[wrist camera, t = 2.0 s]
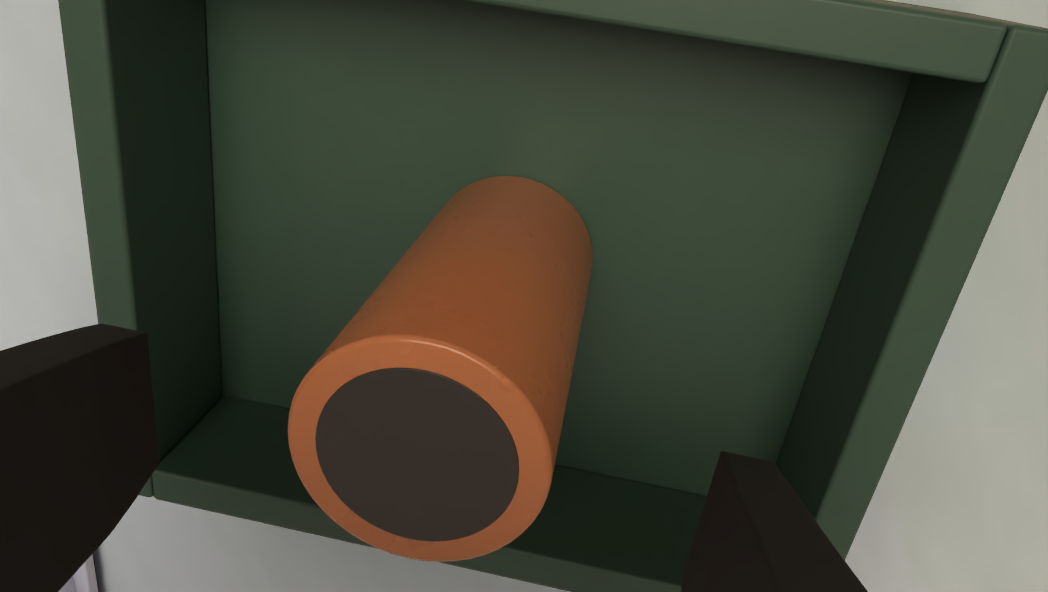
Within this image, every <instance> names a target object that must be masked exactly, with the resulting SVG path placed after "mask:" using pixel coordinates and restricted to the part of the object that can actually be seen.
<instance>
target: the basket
mask: <svg viewBox="0 0 1048 592" xmlns="http://www.w3.org/2000/svg"><path fill="white" fill-rule="evenodd" d="M58 1H59V9H60V17H61V25H62V33H63V41H64V49H65V57H66V66H67V74H68V82H69V90H70V98H71V106H72V114H73V122H74V130H75V138H76V146H77V154H78V162H79V170H80V178H81V186H82V195H83V203H84V211H85V219H86V227H87V235H88V243H89V251H90V259H91V267H92V275H93V283H94V291H95V299H96V307H97V316H98V324H107V325H112V326H117V327H122V328H127V329H131V330H136V331H141V332H146V333H147V337H148V348H149V358H150V369H151V380H152V390H153V401H154V412H155V422H156V433H157V444H158V454H159V464H158V466H157V467H156V469H155V470H154V472H153V473H152V475H151V476H150V478H149V479H148V481H147V482H146V484H145V485H144V487H143V488H142V490H141V491H140V493H139V494H138V495H142V496H146V497H152V496H154V497H155V498H156V499H158V500H163V501H167V502H172V503H176V504H181V505H185V506H190V507H194V508H199V509H203V510H208V511H212V512H217V513H221V514H226V515H230V516H235V517H239V518H244V519H248V520H253V521H257V522H262V523H266V524H270V525H275V526H279V527H284V528H288V529H293V530H297V531H302V532H306V533H311V534H315V535H320V536H324V537H329V538H333V539H338V540H342V541H347V542H351V543H356V544H360V545H365V546H369V547H373V548H376V547H374V546H372V545H370V544H368V543H366V542H364V541H362V540H360V539H358V538H357V537H355V536H354V535H352V534H350V533H349V532H347V531H346V530H345V529H343V528H342V527H341V526H339V525H338V524H337V523H335V522H334V521H333V520H332V519H331V518H330V517H329V516H328V515H327V514H326V513H325V512H324V511H323V510H322V509H321V508H320V507H319V506H318V504H317V503H316V502H315V501H314V500H313V499H312V497H311V496H310V494H309V493H308V491H307V490H306V488H305V487H304V485H303V483H302V481H301V479H300V477H299V475H298V474H297V471H296V468H295V466H294V463H293V460H292V457H291V452H290V448H289V440H288V420H289V412H290V407H291V403H292V399H293V397H294V395H295V392H296V390H297V388H298V386H299V384H300V383H301V381H302V379H303V378H304V376H305V375H306V373H307V372H308V371H309V370H310V369H311V367H312V366H313V365H314V364H315V362H316V361H317V360H318V359H319V358H320V356H321V355H322V354H323V353H324V351H325V350H326V349H327V348H328V347H329V345H330V344H331V343H332V342H333V341H334V339H335V338H336V337H337V336H338V334H339V333H340V332H341V331H342V330H343V328H344V327H345V326H346V325H347V323H348V322H349V321H350V320H351V319H352V317H353V316H354V315H355V314H356V312H357V311H358V310H359V309H360V308H361V306H362V305H363V304H364V303H365V301H366V300H367V299H368V298H369V297H370V295H371V294H372V293H373V292H374V290H375V289H376V288H377V287H378V286H379V284H380V283H381V282H382V281H383V279H384V278H385V277H386V276H387V275H388V273H389V272H390V271H391V270H392V269H393V267H394V266H395V265H396V264H397V262H398V261H399V260H400V259H401V258H402V256H403V255H404V254H405V253H406V251H407V250H408V249H409V248H410V247H411V245H412V244H413V243H414V242H415V240H416V239H417V238H418V237H419V236H420V234H421V233H422V232H423V231H424V229H425V228H426V227H427V226H428V225H429V223H430V222H431V221H432V220H433V218H434V217H435V216H436V215H437V214H438V212H439V211H440V210H441V209H442V208H443V206H444V205H445V204H446V203H447V202H448V201H449V199H450V198H451V197H452V196H453V195H455V194H456V193H457V192H458V191H459V190H461V189H463V188H464V187H466V186H467V185H469V184H472V183H474V182H476V181H478V180H482V179H485V178H489V177H496V176H516V177H523V178H527V179H531V180H534V181H537V182H539V183H542V184H544V185H546V186H548V187H550V188H552V189H553V190H555V191H556V192H558V193H559V194H560V195H562V196H563V197H564V198H565V199H566V200H567V201H568V202H569V203H570V204H571V205H572V206H573V207H574V208H575V210H576V211H577V212H578V214H579V215H580V217H581V218H582V220H583V222H584V224H585V226H586V228H587V230H588V233H589V237H590V240H591V245H592V254H593V263H592V271H591V276H590V282H589V287H588V292H587V298H586V303H585V308H584V313H583V319H582V324H581V329H580V335H579V340H578V345H577V350H576V356H575V361H574V366H573V372H572V377H571V382H570V387H569V393H568V398H567V403H566V408H565V414H564V419H563V424H562V430H561V435H560V440H559V445H558V451H557V456H556V461H555V467H554V472H553V477H552V482H551V486H550V490H549V493H548V497H547V499H546V501H545V503H544V506H543V508H542V510H541V511H540V513H539V514H538V516H537V517H536V519H535V520H534V521H533V523H532V524H531V525H530V526H529V527H528V528H527V529H526V530H525V531H524V532H523V533H522V534H521V535H519V536H518V537H517V538H516V539H514V540H513V541H512V542H510V543H509V544H507V545H505V546H503V547H502V548H500V549H498V550H496V551H493V552H491V553H488V554H486V555H483V556H479V557H475V558H472V559H466V560H459V561H446V562H441V563H445V564H450V565H454V566H459V567H463V568H468V569H472V570H477V571H481V572H485V573H490V574H494V575H499V576H503V577H508V578H512V579H517V580H521V581H526V582H530V583H535V584H539V585H544V586H548V587H553V588H557V589H562V590H566V591H571V592H681V578H682V575H683V572H684V568H685V565H686V562H687V559H688V556H689V552H690V549H691V546H692V543H693V539H694V536H695V533H696V530H697V527H698V523H699V520H700V517H701V514H702V510H703V507H704V504H705V501H706V498H707V494H708V491H709V488H710V485H711V481H712V478H713V475H714V472H715V469H716V465H717V462H718V459H719V456H720V452H721V451H725V452H730V453H734V454H739V455H744V456H749V457H754V458H759V459H764V460H768V461H773V462H774V463H775V464H776V466H777V467H778V468H779V470H780V471H781V472H782V474H783V475H784V477H785V478H786V479H787V481H788V482H789V484H790V485H791V487H792V488H793V489H794V491H795V492H796V494H797V495H798V496H799V498H800V499H801V501H802V502H803V504H804V505H805V506H806V508H807V509H808V511H809V512H810V514H811V515H812V516H813V518H814V519H815V521H816V522H817V523H818V525H819V526H820V528H821V529H822V530H823V532H824V533H825V535H826V536H827V537H828V539H829V540H830V542H831V543H832V544H833V546H834V547H835V548H836V550H837V551H838V553H839V554H840V555H841V557H842V558H843V559H844V561H845V558H846V556H847V554H848V551H849V549H850V547H851V544H852V542H853V540H854V537H855V535H856V533H857V531H858V528H859V526H860V524H861V521H862V519H863V517H864V514H865V512H866V510H867V507H868V505H869V503H870V500H871V498H872V496H873V493H874V491H875V489H876V487H877V484H878V482H879V480H880V477H881V475H882V473H883V470H884V468H885V466H886V463H887V461H888V459H889V456H890V454H891V452H892V450H893V447H894V445H895V443H896V440H897V438H898V436H899V433H900V431H901V429H902V426H903V424H904V422H905V419H906V417H907V415H908V412H909V410H910V408H911V406H912V403H913V401H914V399H915V396H916V394H917V392H918V389H919V387H920V385H921V382H922V380H923V378H924V375H925V373H926V371H927V368H928V366H929V364H930V362H931V359H932V357H933V355H934V352H935V350H936V348H937V345H938V343H939V341H940V338H941V336H942V334H943V331H944V329H945V327H946V325H947V322H948V320H949V318H950V315H951V313H952V311H953V308H954V306H955V304H956V301H957V299H958V297H959V294H960V292H961V290H962V287H963V285H964V283H965V281H966V278H967V276H968V274H969V271H970V269H971V267H972V264H973V262H974V260H975V257H976V255H977V253H978V250H979V248H980V246H981V243H982V241H983V239H984V237H985V234H986V232H987V230H988V227H989V225H990V223H991V220H992V218H993V216H994V213H995V211H996V209H997V206H998V204H999V202H1000V200H1001V197H1002V195H1003V193H1004V190H1005V188H1006V186H1007V183H1008V181H1009V179H1010V176H1011V174H1012V172H1013V169H1014V167H1015V165H1016V162H1017V160H1018V158H1019V156H1020V153H1021V151H1022V149H1023V146H1024V144H1025V142H1026V139H1027V137H1028V135H1029V132H1030V130H1031V128H1032V125H1033V123H1034V121H1035V119H1036V116H1037V114H1038V112H1039V109H1040V107H1041V105H1042V102H1043V100H1044V98H1045V95H1046V93H1047V91H1048V29H1047V28H1042V27H1037V26H1031V25H1026V24H1021V23H1016V22H1011V21H1006V20H1000V19H995V18H990V17H985V16H980V15H975V14H970V13H964V12H957V11H951V10H944V9H938V8H931V7H925V6H918V5H912V4H905V3H899V2H892V1H886V0H58Z"/></svg>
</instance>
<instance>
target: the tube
mask: <svg viewBox="0 0 1048 592" xmlns="http://www.w3.org/2000/svg"><path fill="white" fill-rule="evenodd" d="M592 263H593V254H592V245H591V240H590V237H589V233H588V230H587V228H586V226H585V224H584V222H583V220H582V218H581V217H580V215H579V214H578V212H577V211H576V210H575V208H574V207H573V206H572V205H571V204H570V203H569V202H568V201H567V200H566V199H565V198H564V197H563V196H562V195H560V194H559V193H558V192H556V191H555V190H553V189H552V188H550V187H548V186H546V185H544V184H542V183H539V182H537V181H534V180H531V179H527V178H523V177H516V176H496V177H489V178H485V179H482V180H478V181H476V182H474V183H472V184H469V185H467V186H466V187H464V188H463V189H461V190H459V191H458V192H457V193H456V194H455V195H453V196H452V197H451V198H450V199H449V201H448V202H447V203H446V204H445V205H444V206H443V208H442V209H441V210H440V211H439V212H438V214H437V215H436V216H435V217H434V218H433V220H432V221H431V222H430V223H429V225H428V226H427V227H426V228H425V229H424V231H423V232H422V233H421V234H420V236H419V237H418V238H417V239H416V240H415V242H414V243H413V244H412V245H411V247H410V248H409V249H408V250H407V251H406V253H405V254H404V255H403V256H402V258H401V259H400V260H399V261H398V262H397V264H396V265H395V266H394V267H393V269H392V270H391V271H390V272H389V273H388V275H387V276H386V277H385V278H384V279H383V281H382V282H381V283H380V284H379V286H378V287H377V288H376V289H375V290H374V292H373V293H372V294H371V295H370V297H369V298H368V299H367V300H366V301H365V303H364V304H363V305H362V306H361V308H360V309H359V310H358V311H357V312H356V314H355V315H354V316H353V317H352V319H351V320H350V321H349V322H348V323H347V325H346V326H345V327H344V328H343V330H342V331H341V332H340V333H339V334H338V336H337V337H336V338H335V339H334V341H333V342H332V343H331V344H330V345H329V347H328V348H327V349H326V350H325V351H324V353H323V354H322V355H321V356H320V358H319V359H318V360H317V361H316V362H315V364H314V365H313V366H312V367H311V369H310V370H309V371H308V372H307V373H306V375H305V376H304V378H303V379H302V381H301V383H300V384H299V386H298V388H297V390H296V392H295V395H294V397H293V399H292V403H291V407H290V412H289V420H288V440H289V448H290V452H291V457H292V460H293V463H294V466H295V468H296V471H297V474H298V475H299V477H300V479H301V481H302V483H303V485H304V487H305V488H306V490H307V491H308V493H309V494H310V496H311V497H312V499H313V500H314V501H315V502H316V503H317V504H318V506H319V507H320V508H321V509H322V510H323V511H324V512H325V513H326V514H327V515H328V516H329V517H330V518H331V519H332V520H333V521H334V522H335V523H337V524H338V525H339V526H341V527H342V528H343V529H345V530H346V531H347V532H349V533H350V534H352V535H354V536H355V537H357V538H358V539H360V540H362V541H364V542H366V543H368V544H370V545H372V546H374V547H376V548H378V549H381V550H383V551H386V552H389V553H391V554H395V555H398V556H402V557H406V558H411V559H417V560H422V561H435V562H446V561H459V560H466V559H472V558H475V557H479V556H483V555H486V554H488V553H491V552H493V551H496V550H498V549H500V548H502V547H503V546H505V545H507V544H509V543H510V542H512V541H513V540H514V539H516V538H517V537H518V536H519V535H521V534H522V533H523V532H524V531H525V530H526V529H527V528H528V527H529V526H530V525H531V524H532V523H533V521H534V520H535V519H536V517H537V516H538V514H539V513H540V511H541V510H542V508H543V506H544V503H545V501H546V499H547V497H548V493H549V490H550V486H551V482H552V477H553V472H554V467H555V461H556V456H557V451H558V445H559V440H560V435H561V430H562V424H563V419H564V414H565V408H566V403H567V398H568V393H569V387H570V382H571V377H572V372H573V366H574V361H575V356H576V350H577V345H578V340H579V335H580V329H581V324H582V319H583V313H584V308H585V303H586V298H587V292H588V287H589V282H590V276H591V271H592Z"/></svg>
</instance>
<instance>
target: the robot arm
mask: <svg viewBox="0 0 1048 592" xmlns="http://www.w3.org/2000/svg"><path fill="white" fill-rule="evenodd" d="M158 464H159V454H158V444H157V433H156V422H155V412H154V401H153V390H152V380H151V369H150V358H149V348H148V337H147V333H146V332H141V331H136V330H131V329H127V328H122V327H117V326H112V325H107V324H97V325H93V326H88V327H83V328H79V329H75V330H71V331H67V332H63V333H60V334H56V335H52V336H49V337H45V338H42V339H39V340H35V341H32V342H28V343H25V344H22V345H18V346H15V347H12V348H9V349H5V350H2V351H0V592H98V588H97V581H96V574H95V568H94V561H93V553H94V551H95V550H96V549H97V548H98V547H99V546H100V545H101V544H102V542H103V541H104V540H105V539H106V538H107V537H108V535H109V534H110V533H111V532H112V531H113V530H114V528H115V527H116V525H117V524H118V523H119V521H120V520H121V518H122V517H123V516H124V514H125V513H126V512H127V510H128V509H129V507H130V506H131V505H132V503H133V502H134V500H135V499H136V497H137V496H138V494H139V493H140V491H141V490H142V488H143V487H144V485H145V484H146V482H147V481H148V479H149V478H150V476H151V475H152V473H153V472H154V470H155V469H156V467H157V466H158ZM681 592H868V591H867V590H866V589H865V587H864V586H863V585H862V584H861V582H860V581H859V580H858V578H857V577H856V576H855V574H854V573H853V572H852V570H851V569H850V568H849V566H848V565H847V563H846V562H845V561H844V559H843V558H842V557H841V555H840V554H839V553H838V551H837V550H836V548H835V547H834V546H833V544H832V543H831V542H830V540H829V539H828V537H827V536H826V535H825V533H824V532H823V530H822V529H821V528H820V526H819V525H818V523H817V522H816V521H815V519H814V518H813V516H812V515H811V514H810V512H809V511H808V509H807V508H806V506H805V505H804V504H803V502H802V501H801V499H800V498H799V496H798V495H797V494H796V492H795V491H794V489H793V488H792V487H791V485H790V484H789V482H788V481H787V479H786V478H785V477H784V475H783V474H782V472H781V471H780V470H779V468H778V467H777V466H776V464H775V463H774V462H773V461H768V460H764V459H759V458H754V457H749V456H744V455H739V454H734V453H730V452H725V451H721V452H720V456H719V459H718V462H717V465H716V469H715V472H714V475H713V478H712V481H711V485H710V488H709V491H708V494H707V498H706V501H705V504H704V507H703V510H702V514H701V517H700V520H699V523H698V527H697V530H696V533H695V536H694V539H693V543H692V546H691V549H690V552H689V556H688V559H687V562H686V565H685V568H684V572H683V575H682V578H681Z"/></svg>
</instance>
